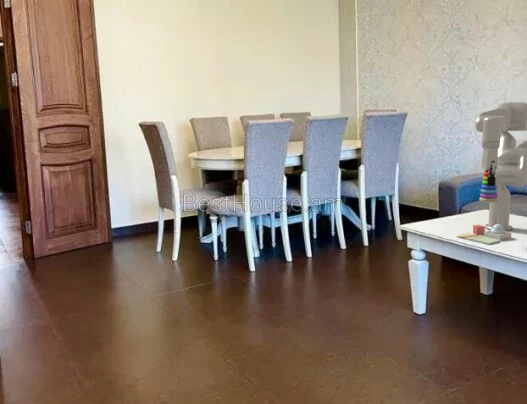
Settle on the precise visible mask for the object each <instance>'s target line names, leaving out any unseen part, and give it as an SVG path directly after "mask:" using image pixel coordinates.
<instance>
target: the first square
mask: <svg viewBox="0 0 527 404" xmlns="http://www.w3.org/2000/svg"><path fill="white" fill-rule="evenodd" d="M481 237H484V235H476V234H474V233H470V232H466V233H462V234H459V235H456V239H457V238H459V239H462V240H468V241H470V242H471V241H472V242H474V241H473V239H477V238H481Z"/></svg>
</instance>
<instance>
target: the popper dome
mask: <svg viewBox="0 0 527 404" xmlns="http://www.w3.org/2000/svg"><path fill="white" fill-rule="evenodd" d="M491 233H494V234H498V235H501V234H505V229H503V226H502V225H500V224H495V225H494V226H493V228H491Z"/></svg>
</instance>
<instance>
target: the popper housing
mask: <svg viewBox="0 0 527 404" xmlns="http://www.w3.org/2000/svg"><path fill="white" fill-rule="evenodd" d="M483 236H484V237H489V238H493V239H498V240H501V241H505V240H508V239H511V238H512V232H511V231H508V230H507V231H505V234H501V235H498V234H494V233H491V230H490V229H489V230H487V231H486V230H485V232H484V235H483Z"/></svg>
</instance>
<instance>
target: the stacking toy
mask: <svg viewBox="0 0 527 404" xmlns="http://www.w3.org/2000/svg"><path fill="white" fill-rule="evenodd" d="M490 170H492V169H490ZM484 175H485V176H484ZM495 175H496V173H495ZM487 178H488V170H487V171H485V170H484V172H483V177H482V179H483V180H482V183H481V189H480V194H479V195H480V197H479V202H481V203H486V204H490V203H494V202H497V201H498V198H497V197H498V194H497V189H496V188H497V185H495V186H488V185H487ZM495 180H496V177H495ZM496 183H497V182H496V181H495V184H496Z"/></svg>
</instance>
